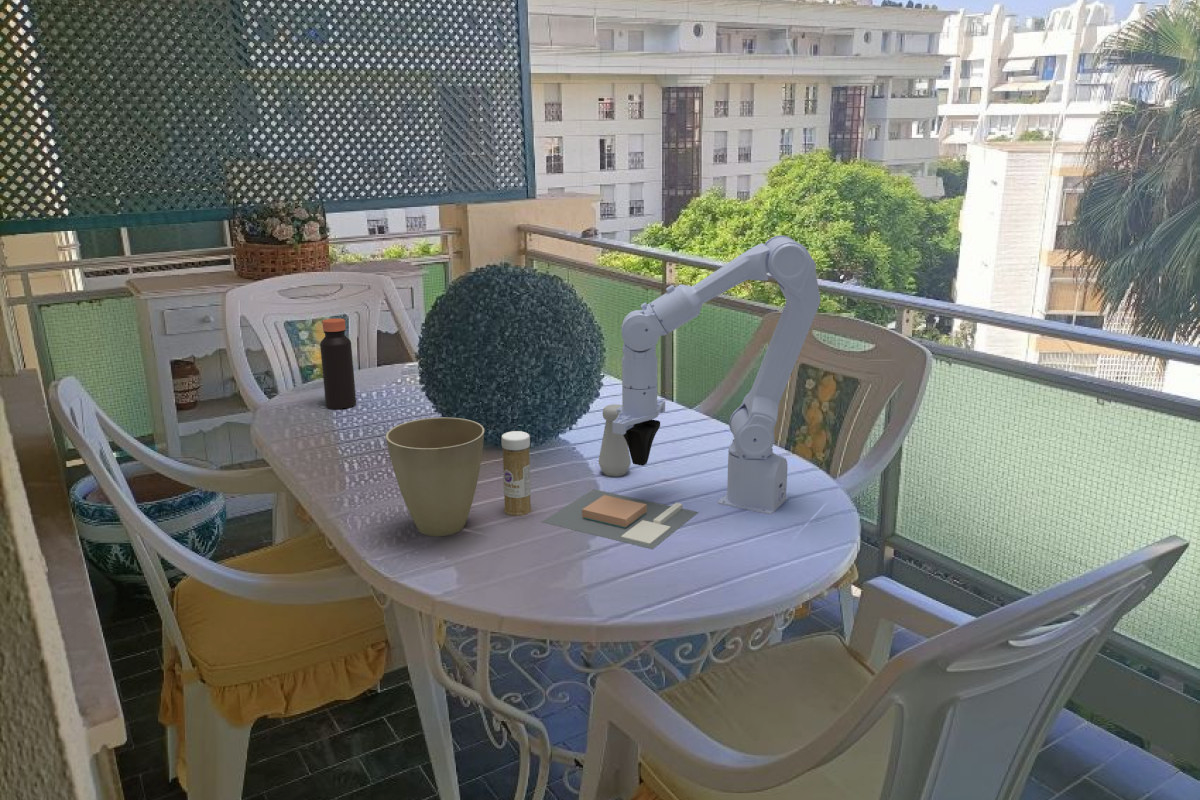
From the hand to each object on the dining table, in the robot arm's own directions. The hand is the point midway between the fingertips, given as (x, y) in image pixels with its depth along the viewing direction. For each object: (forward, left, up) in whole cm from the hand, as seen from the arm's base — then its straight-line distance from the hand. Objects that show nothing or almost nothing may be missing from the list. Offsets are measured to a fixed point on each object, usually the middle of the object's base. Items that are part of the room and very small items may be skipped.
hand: (639, 463), depth 152 cm
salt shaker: (+10, -9, -7) cm, 15 cm away
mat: (-1, +8, -7) cm, 11 cm away
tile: (0, +5, -6) cm, 7 cm away
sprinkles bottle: (+15, +14, -7) cm, 22 cm away
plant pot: (+22, +25, -7) cm, 34 cm away
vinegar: (+87, -16, -7) cm, 89 cm away
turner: (-7, +8, -6) cm, 13 cm away
